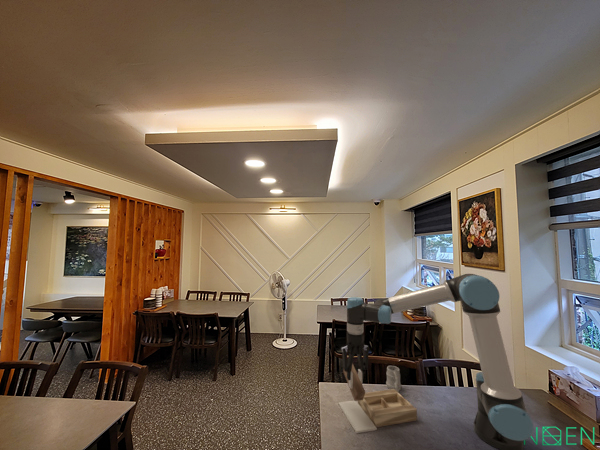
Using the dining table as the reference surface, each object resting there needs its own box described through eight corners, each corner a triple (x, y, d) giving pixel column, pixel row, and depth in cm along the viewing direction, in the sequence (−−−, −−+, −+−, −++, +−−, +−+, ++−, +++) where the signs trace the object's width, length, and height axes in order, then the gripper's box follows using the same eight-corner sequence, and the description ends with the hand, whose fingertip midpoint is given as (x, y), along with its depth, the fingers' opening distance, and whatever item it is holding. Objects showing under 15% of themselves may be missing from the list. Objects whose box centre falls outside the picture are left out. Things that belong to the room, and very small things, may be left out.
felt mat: (376, 430, 98) (376, 427, 98) (356, 433, 96) (356, 431, 96) (355, 401, 116) (355, 400, 117) (338, 404, 114) (338, 402, 114)
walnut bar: (350, 370, 117) (352, 363, 116) (363, 399, 105) (365, 391, 103) (343, 371, 116) (344, 363, 115) (354, 401, 104) (356, 392, 102)
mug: (398, 384, 133) (397, 361, 134) (406, 396, 121) (405, 371, 123) (384, 383, 134) (384, 360, 135) (390, 395, 122) (390, 370, 123)
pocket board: (417, 420, 104) (416, 409, 105) (375, 427, 100) (375, 415, 100) (394, 398, 120) (394, 388, 120) (357, 403, 115) (357, 393, 116)
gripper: (341, 336, 105) (341, 393, 102) (376, 334, 109) (376, 389, 106) (334, 330, 112) (334, 383, 109) (367, 328, 116) (368, 380, 113)
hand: (355, 386), depth 108 cm, fingers closed on walnut bar, 4 cm apart
